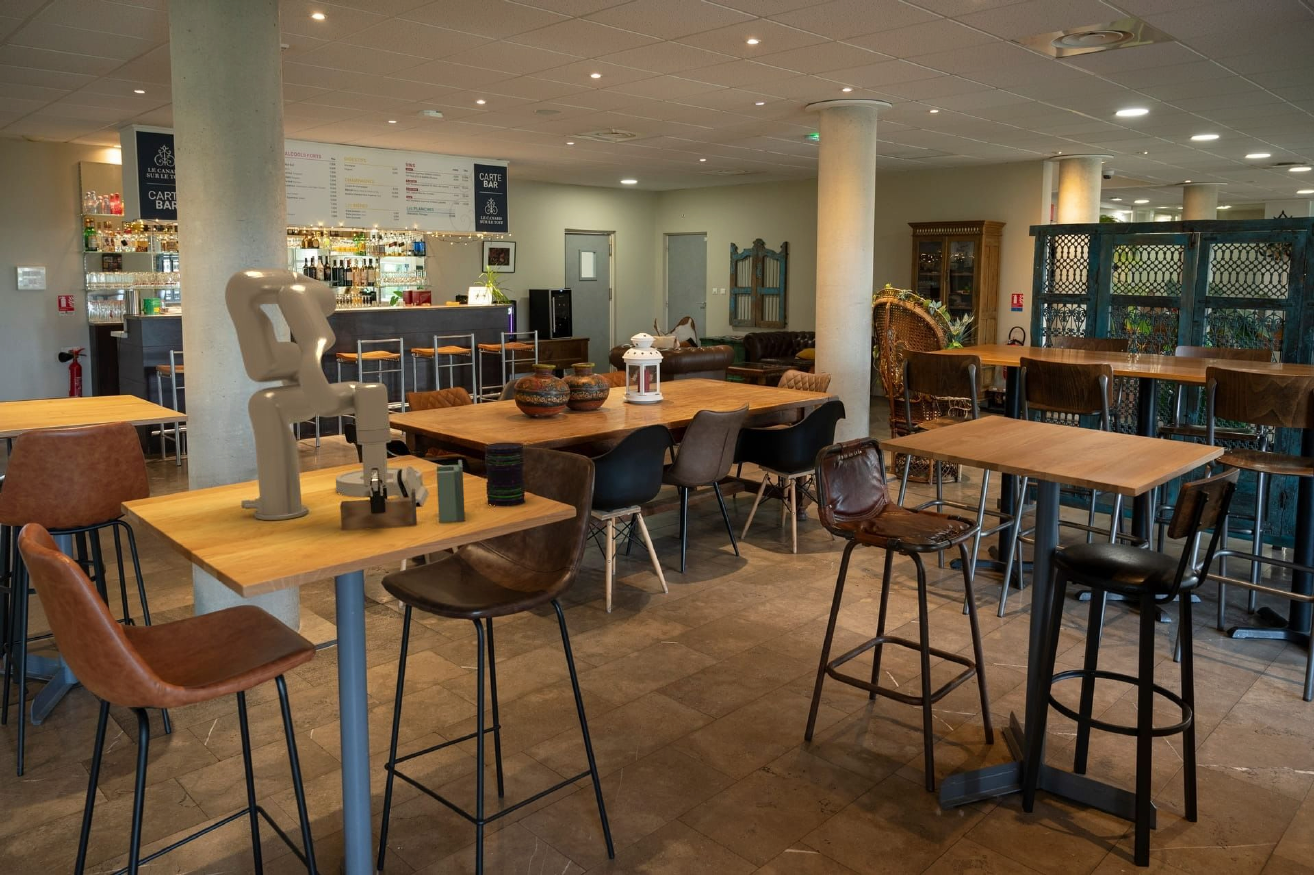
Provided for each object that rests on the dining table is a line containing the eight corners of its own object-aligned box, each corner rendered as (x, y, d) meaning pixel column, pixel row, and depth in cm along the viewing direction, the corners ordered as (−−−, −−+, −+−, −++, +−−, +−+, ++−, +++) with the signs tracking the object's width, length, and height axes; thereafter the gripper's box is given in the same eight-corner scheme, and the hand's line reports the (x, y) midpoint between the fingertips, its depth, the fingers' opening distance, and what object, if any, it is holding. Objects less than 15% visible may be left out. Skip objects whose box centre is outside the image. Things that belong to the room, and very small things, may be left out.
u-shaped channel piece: (439, 522, 231) (436, 468, 229) (439, 513, 240) (436, 461, 238) (464, 521, 232) (462, 466, 230) (463, 512, 241) (461, 459, 239)
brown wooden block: (341, 530, 225) (339, 496, 224) (343, 526, 229) (341, 492, 227) (416, 525, 228) (414, 492, 227) (416, 521, 232) (415, 488, 231)
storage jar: (499, 508, 245) (496, 450, 242) (479, 502, 252) (477, 445, 250) (532, 502, 251) (531, 445, 249) (512, 496, 258) (510, 441, 256)
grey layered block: (422, 506, 248) (407, 471, 246) (405, 513, 247) (389, 477, 246) (429, 493, 264) (414, 459, 262) (412, 499, 264) (397, 465, 262)
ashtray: (320, 490, 271) (319, 476, 270) (393, 477, 288) (392, 464, 287) (365, 502, 255) (364, 487, 255) (439, 488, 272) (438, 473, 272)
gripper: (359, 432, 233) (365, 502, 235) (353, 442, 216) (360, 518, 218) (392, 430, 234) (397, 500, 237) (388, 440, 217) (394, 515, 220)
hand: (379, 508), depth 228 cm, fingers open, 9 cm apart
